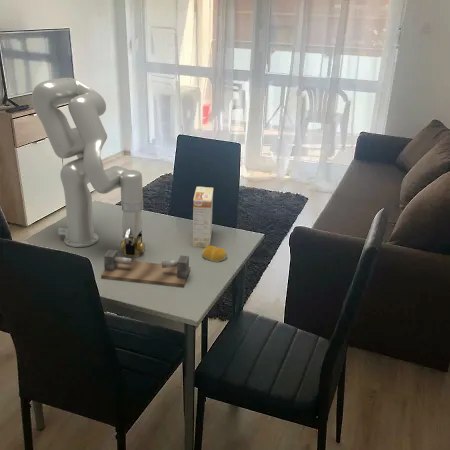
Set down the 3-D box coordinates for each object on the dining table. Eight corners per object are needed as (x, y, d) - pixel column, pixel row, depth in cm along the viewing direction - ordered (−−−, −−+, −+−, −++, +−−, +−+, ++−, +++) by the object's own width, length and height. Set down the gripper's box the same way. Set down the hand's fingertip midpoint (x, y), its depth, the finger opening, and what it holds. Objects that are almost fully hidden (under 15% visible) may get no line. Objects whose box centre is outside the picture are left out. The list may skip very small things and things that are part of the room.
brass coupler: (119, 255, 182) (119, 240, 180) (123, 249, 187) (123, 234, 184) (142, 257, 181) (141, 242, 179) (145, 251, 186) (145, 237, 184)
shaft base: (101, 278, 166) (100, 259, 163) (112, 261, 177) (112, 243, 174) (183, 287, 164) (184, 268, 161) (190, 270, 175) (190, 251, 172)
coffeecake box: (194, 230, 205) (196, 186, 198) (212, 231, 205) (214, 187, 197) (191, 246, 192) (192, 199, 184) (209, 247, 192) (211, 200, 184)
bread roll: (221, 264, 180) (222, 254, 179) (199, 259, 183) (199, 249, 181) (230, 255, 187) (230, 245, 186) (208, 250, 190) (208, 240, 189)
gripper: (129, 196, 184) (131, 238, 191) (114, 213, 169) (116, 258, 175) (148, 197, 184) (150, 239, 191) (135, 215, 168) (137, 260, 175)
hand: (134, 248), depth 183 cm, fingers open, 9 cm apart
